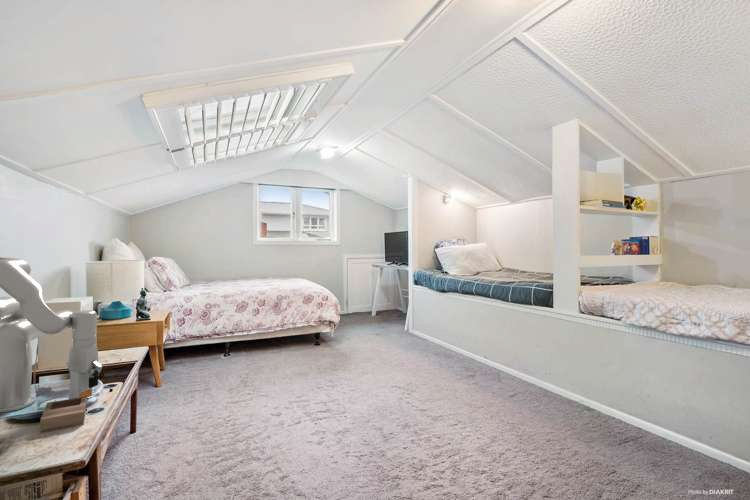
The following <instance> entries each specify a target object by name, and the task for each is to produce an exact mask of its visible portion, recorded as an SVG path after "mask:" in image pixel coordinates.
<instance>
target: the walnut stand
mask: <svg viewBox="0 0 750 500" xmlns="http://www.w3.org/2000/svg"><path fill="white" fill-rule="evenodd" d="M87 401H88V399H87V396H86V397H80V398H74V399H69V398H67V399H63V400H57V401H50V402H47V403H46V405H45V408H44V409H43V412H42V415H41V417H40V422H39V424H40V425H39V426H40V427H39V434H42V433H49V432H51V431H52V432H53V431H58V430H63V429H67V428H74V427H79V426H84V424H85V420H86V419H85V418H86V413H87V405H88V402H87Z"/></svg>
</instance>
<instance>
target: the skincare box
mask: <svg viewBox="0 0 750 500" xmlns="http://www.w3.org/2000/svg"><path fill="white" fill-rule="evenodd" d="M90 370H91V369H90ZM92 373H94V371H92ZM89 378H90V376H89V374H88V372H87V373H80V372H75V371H71V374H69V392H68V399H74V398H80V397H86V396H87V397H89V396H92V397H93V387H92V388H89Z"/></svg>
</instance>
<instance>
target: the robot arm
mask: <svg viewBox="0 0 750 500" xmlns="http://www.w3.org/2000/svg"><path fill="white" fill-rule="evenodd" d="M31 272H32V268H31V265H30V263H28V262H27V261H25V260H24V259H21V258H16V257H15V258H14V257H1V256H0V289H2V290H3V292H5V293H6V294H7V295H8V296H3V297H1V296H0V324H3V325H1V326H0V413H6V412H7V413H8V412H13V411H17V410H20V409H24V408H27V407H30V406H31V405H33V404H34V403H36V401H37V397H36V396H35V395H33V394H31V392H32V390H31V389H32V376H33V375H32V374H33V373H32V372H33V349H32V345H31V341H35V340H36V339H38V338H39V337H41V336H42V335H43V334H45V335H49V336H50V335H57V334H59V333H61V332H64V331H65V330H68V329H71V346H70V349H69V355H68V361H66V366H67V370H68V374H69V375H70V374H71V371H75V372H80V373H87V372H88V374H89V376H90V378H89V388H92V389H93V388H94V387H96V386H99V376H100V374H101V373H102V369H103V365H102V364H101V363H100V362H99V352H98V345H97V341H98V340H97V339H98V338H97V333H98V331H97V327H98V322H97V321H98V313H97V311H95V310H91V309H89V310H88V309H85V310H84V309H83V310H72V309H64V310H63V309H62V310H58V311H56V312H54V311H53V310H52V309H51V308H50V307H49V306H48V305H47V304H46V303H45V302H44V299H43V292H44V291H43V289H44V287H43V286H42V285H41V284H40V283H39V282H38V281H36V280H35V279H34V277H32V276H31V275H30V274H31ZM90 369H91V370H90ZM92 371H94V372H93V373H92Z"/></svg>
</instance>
